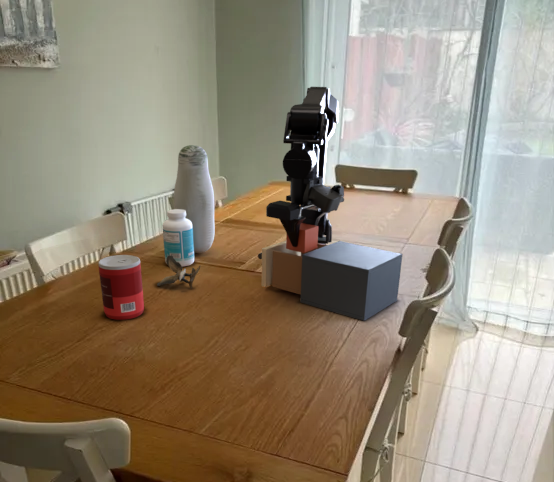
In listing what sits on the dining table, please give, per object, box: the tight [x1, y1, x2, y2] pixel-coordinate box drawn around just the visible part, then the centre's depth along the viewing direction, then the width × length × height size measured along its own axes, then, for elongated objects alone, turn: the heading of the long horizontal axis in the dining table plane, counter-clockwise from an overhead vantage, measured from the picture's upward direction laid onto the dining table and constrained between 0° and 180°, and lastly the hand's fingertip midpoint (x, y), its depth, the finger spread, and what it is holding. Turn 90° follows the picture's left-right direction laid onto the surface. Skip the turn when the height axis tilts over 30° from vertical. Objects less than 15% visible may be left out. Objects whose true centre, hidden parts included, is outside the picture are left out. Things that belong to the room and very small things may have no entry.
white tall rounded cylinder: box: [173, 144, 216, 254], centre depth 145 cm, size 10×10×28 cm
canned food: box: [98, 254, 145, 321], centre depth 108 cm, size 8×8×11 cm
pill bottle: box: [161, 208, 195, 267], centre depth 138 cm, size 8×7×14 cm
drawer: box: [257, 240, 328, 295], centre depth 124 cm, size 19×13×9 cm
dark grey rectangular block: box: [299, 240, 403, 322], centre depth 116 cm, size 16×15×11 cm
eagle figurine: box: [156, 255, 201, 290], centre depth 124 cm, size 8×7×9 cm
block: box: [285, 223, 318, 253], centre depth 120 cm, size 5×5×5 cm
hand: (301, 244), depth 121 cm, fingers closed on block, 5 cm apart
